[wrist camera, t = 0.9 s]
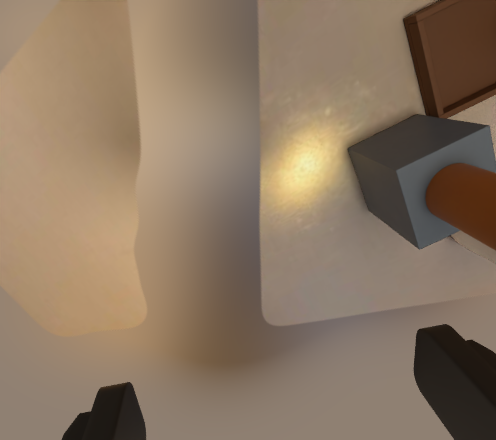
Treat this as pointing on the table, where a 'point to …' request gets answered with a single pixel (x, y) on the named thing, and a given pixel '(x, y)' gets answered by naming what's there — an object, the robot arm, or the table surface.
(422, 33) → the tray
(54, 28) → the table surface
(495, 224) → the amber bottle
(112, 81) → the table surface
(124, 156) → the table surface
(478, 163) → the stand
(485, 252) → the cup
